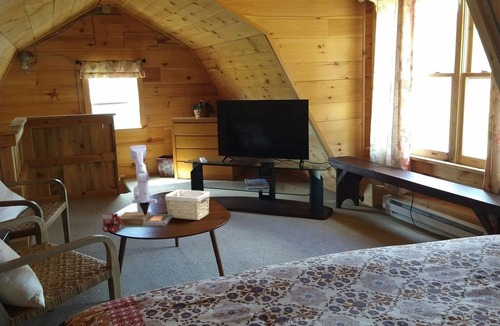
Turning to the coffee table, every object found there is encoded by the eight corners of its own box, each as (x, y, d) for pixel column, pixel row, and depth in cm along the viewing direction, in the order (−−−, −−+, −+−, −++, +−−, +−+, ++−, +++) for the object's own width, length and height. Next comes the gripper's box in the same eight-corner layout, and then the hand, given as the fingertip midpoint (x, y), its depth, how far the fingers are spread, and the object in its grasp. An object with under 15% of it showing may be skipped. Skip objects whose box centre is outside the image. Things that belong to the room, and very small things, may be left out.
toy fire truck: (119, 233, 243) (117, 215, 241) (100, 232, 246) (98, 214, 244) (126, 229, 250) (124, 212, 248) (107, 228, 253) (105, 211, 251)
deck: (125, 218, 270) (125, 212, 269) (150, 218, 268) (150, 212, 267) (117, 226, 256) (116, 219, 255) (143, 225, 255) (142, 219, 254)
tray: (151, 218, 269) (151, 214, 268) (172, 218, 267) (171, 214, 267) (143, 226, 254) (143, 222, 254) (165, 226, 253) (165, 222, 252)
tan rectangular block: (163, 215, 264) (163, 218, 265) (153, 215, 265) (154, 218, 265) (159, 220, 255) (159, 223, 256) (149, 220, 256) (149, 223, 256)
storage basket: (165, 217, 269) (163, 194, 266) (179, 210, 283) (177, 188, 280) (198, 221, 259) (197, 198, 256) (211, 213, 274) (210, 191, 271)
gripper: (129, 194, 255) (131, 216, 257) (153, 194, 253) (155, 216, 256) (133, 191, 262) (135, 212, 264) (157, 191, 260) (158, 212, 263)
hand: (145, 214), depth 260 cm, fingers closed
